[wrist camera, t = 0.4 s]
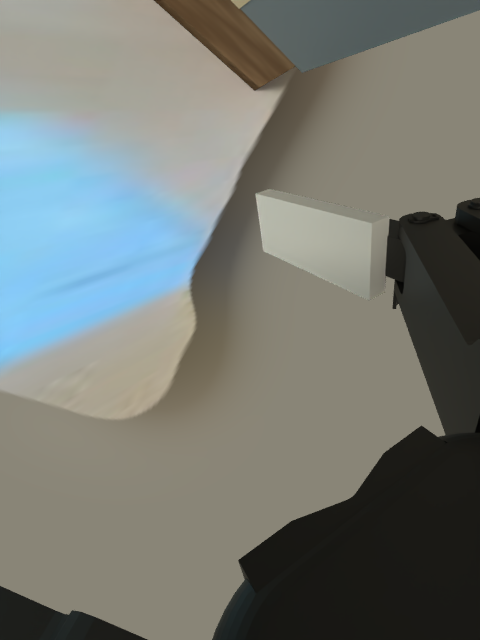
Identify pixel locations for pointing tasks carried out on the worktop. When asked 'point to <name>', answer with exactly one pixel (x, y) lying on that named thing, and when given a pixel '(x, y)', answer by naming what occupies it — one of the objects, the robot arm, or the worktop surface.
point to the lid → (345, 24)
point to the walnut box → (231, 38)
